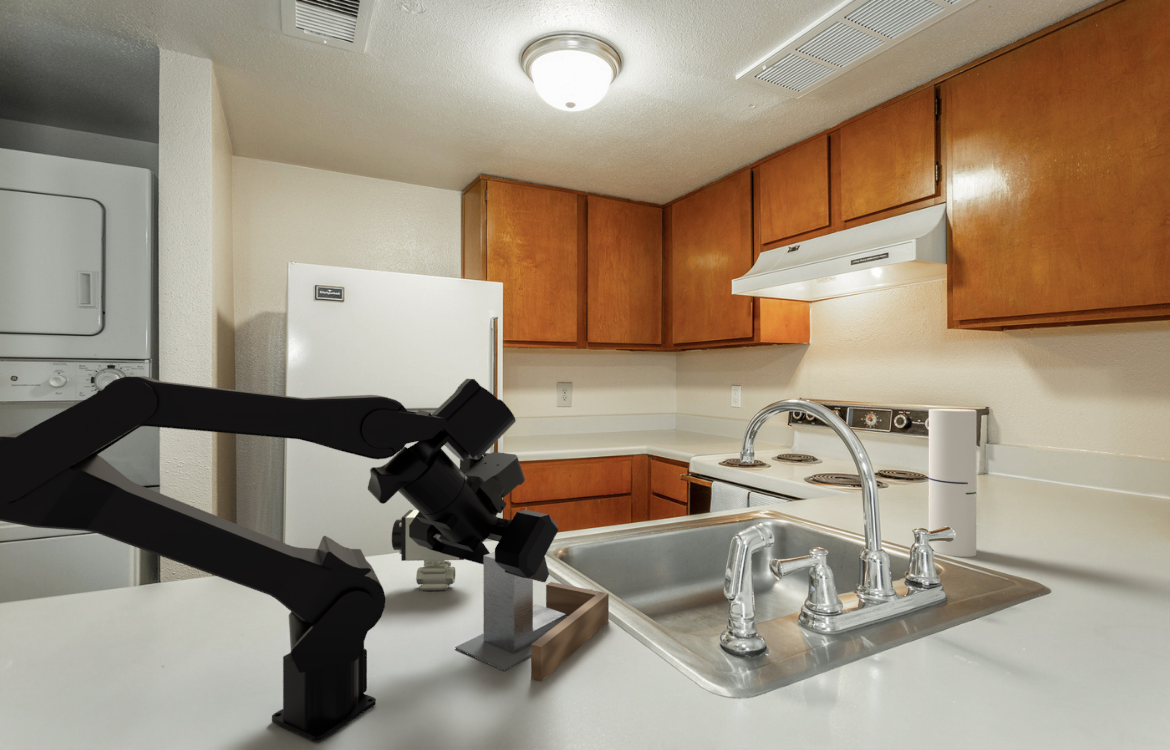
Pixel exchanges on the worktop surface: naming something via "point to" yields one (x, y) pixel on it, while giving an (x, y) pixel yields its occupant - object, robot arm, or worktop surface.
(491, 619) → the bracket
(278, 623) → the worktop surface
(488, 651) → the mat
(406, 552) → the pneumatic valve
